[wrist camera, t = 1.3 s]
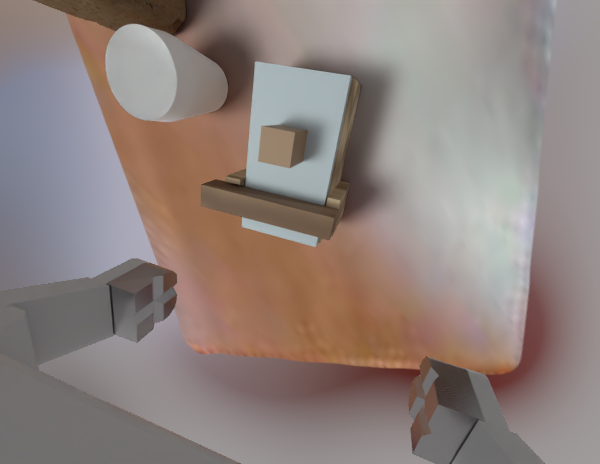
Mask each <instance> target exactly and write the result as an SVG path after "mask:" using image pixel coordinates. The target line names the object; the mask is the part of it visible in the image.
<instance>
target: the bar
mask: <svg viewBox="0 0 600 464" xmlns="http://www.w3.org/2000/svg"><path fill="white" fill-rule="evenodd" d="M201 206H202V207H206V208H210V209H214V210H217V211H221V212H225V213H229V214H232V215H236V216H240V217H244V218H247V219H251V220H255V221H259V222H262V223H266V224H270V225H274V226H277V227H281V228H285V229H288V230H292V231H296V232H300V233H303V234H307V235H311V236H315V237H318V238H322V239H326V240H330V238H331V236H332V234H333V232H334V229H335V225H336V221H337V216H338V212H339V209H335V208H331V207H327V206H323V205H319V204H315V203H311V202H307V201H302V200H298V199H294V198H290V197H286V196H282V195H278V194H274V193H270V192H266V191H261V190H257V189H253V188H249V187H245V186H241V185H237V184H233V183H229V182H225V181H221V180H213V181H210V182H207V183H204V184H202V185H201Z"/></svg>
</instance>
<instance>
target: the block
mask: <svg viewBox="0 0 600 464" xmlns="http://www.w3.org/2000/svg"><path fill="white" fill-rule="evenodd" d="M34 1H37V2H39V3H42V4H44V5H47V6H49V7H52V8H54V9H57V10H60V11H62V12H65V13H67V14H70V15H73V16H75V17H79V18H82V19H85V20H89V21H94V22H97V23H98V24H100V25H102V26H104V27H107V28H109V29H112V30H115V31H117V30H118V29H119V28H121V27H123V26H125V25H128V24H139V25H143V26H146V27H150V28H153V29H157V30H161V31H164V32H167V33H169V34H171V35H172V34H174V33H175V32H176V31H177V28H178V27H179V26H180V25H181V24H182V23H183V22H184V20H185V15H186V6H185V0H34Z"/></svg>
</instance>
